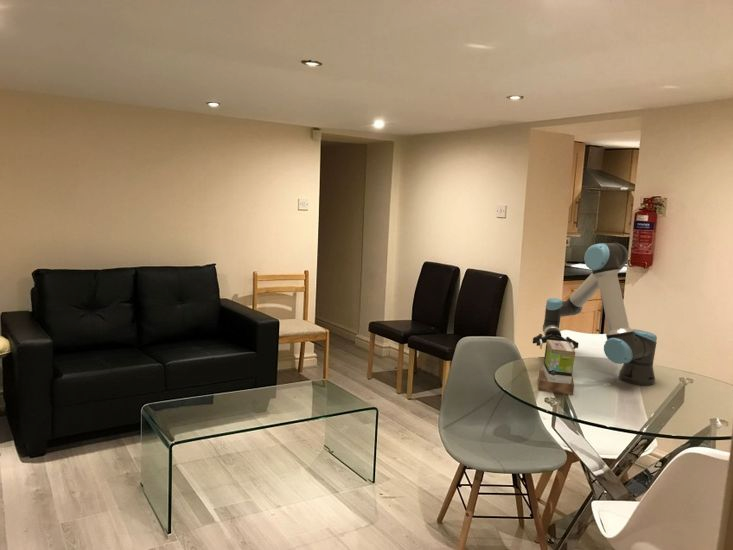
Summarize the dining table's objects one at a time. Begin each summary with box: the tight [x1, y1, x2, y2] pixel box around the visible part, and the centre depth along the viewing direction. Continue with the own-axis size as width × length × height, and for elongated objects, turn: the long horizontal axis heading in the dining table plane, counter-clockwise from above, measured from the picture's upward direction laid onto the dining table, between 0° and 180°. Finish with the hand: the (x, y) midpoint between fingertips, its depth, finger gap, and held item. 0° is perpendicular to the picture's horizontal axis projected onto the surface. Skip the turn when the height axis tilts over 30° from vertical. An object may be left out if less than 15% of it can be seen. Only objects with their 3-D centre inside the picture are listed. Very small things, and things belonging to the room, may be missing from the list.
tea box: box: [542, 340, 576, 384], centre depth 256 cm, size 15×10×15 cm
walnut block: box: [537, 369, 575, 396], centre depth 258 cm, size 14×14×5 cm
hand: (556, 348), depth 265 cm, fingers open, 13 cm apart
